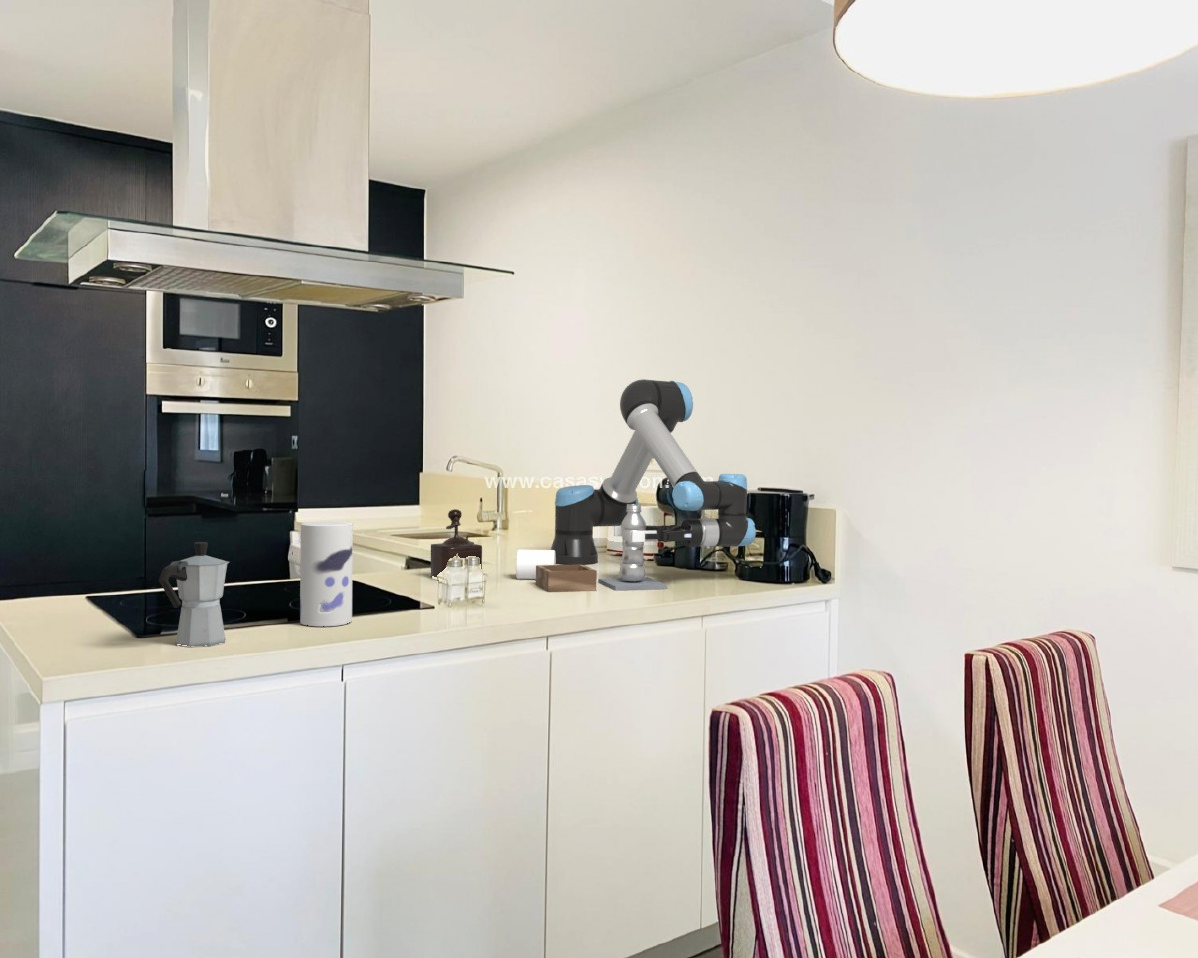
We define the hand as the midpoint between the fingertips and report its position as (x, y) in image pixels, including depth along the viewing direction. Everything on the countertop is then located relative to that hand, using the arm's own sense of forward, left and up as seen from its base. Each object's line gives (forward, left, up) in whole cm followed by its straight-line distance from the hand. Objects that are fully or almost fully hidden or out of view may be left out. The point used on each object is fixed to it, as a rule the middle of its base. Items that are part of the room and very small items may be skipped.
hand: (622, 533), depth 250 cm
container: (+35, -75, -14) cm, 84 cm away
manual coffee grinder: (-22, -40, -14) cm, 48 cm away
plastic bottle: (0, +3, -13) cm, 13 cm away
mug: (-18, -18, -14) cm, 29 cm away
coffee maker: (+50, -98, -14) cm, 111 cm away
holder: (0, -15, -14) cm, 20 cm away
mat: (0, +3, -14) cm, 14 cm away
